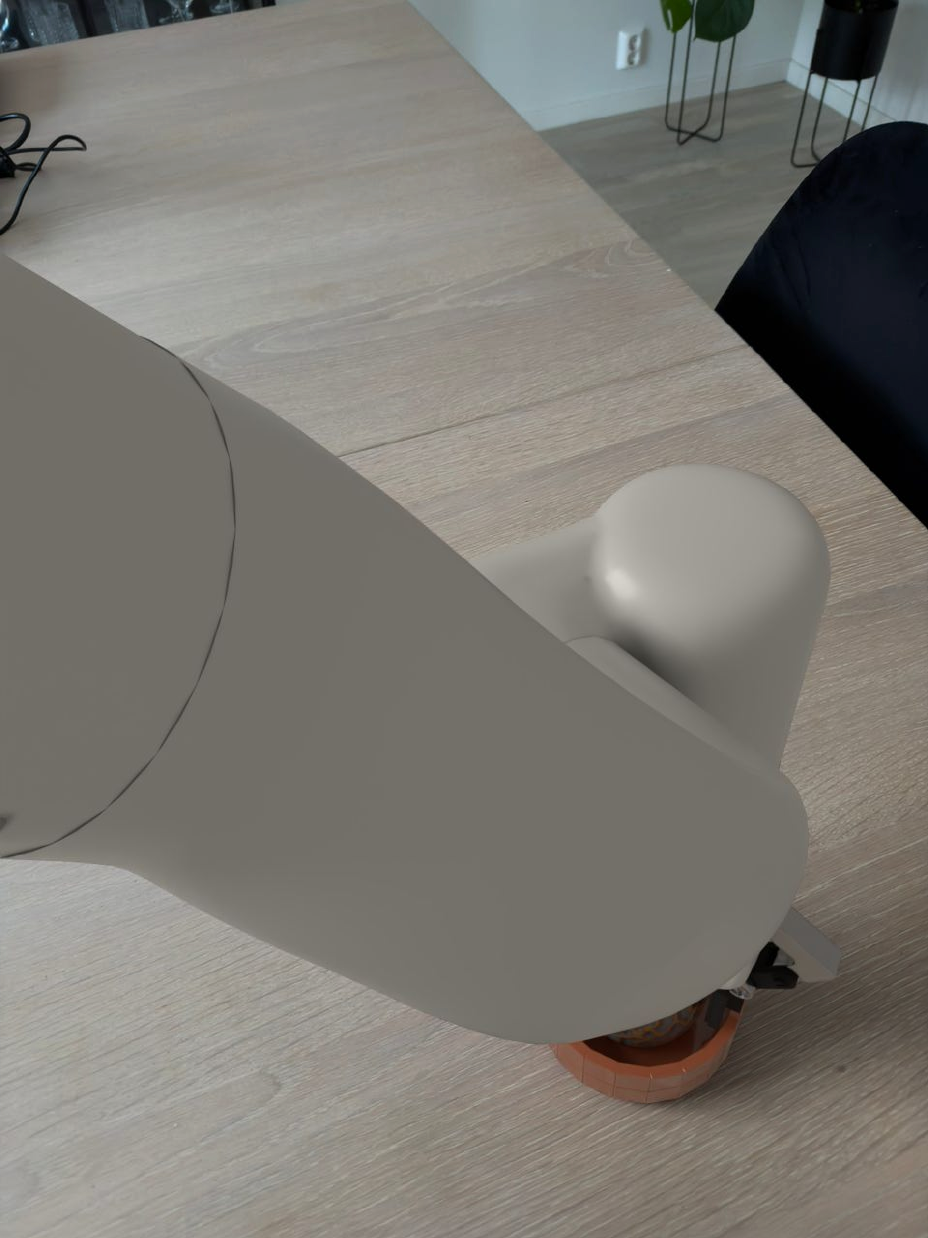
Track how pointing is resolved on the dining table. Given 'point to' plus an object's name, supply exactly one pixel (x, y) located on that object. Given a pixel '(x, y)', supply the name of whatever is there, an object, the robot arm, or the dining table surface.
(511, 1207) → the dining table surface
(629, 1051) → the bowl
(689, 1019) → the vase
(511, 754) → the robot arm
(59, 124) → the dining table surface
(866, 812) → the dining table surface
